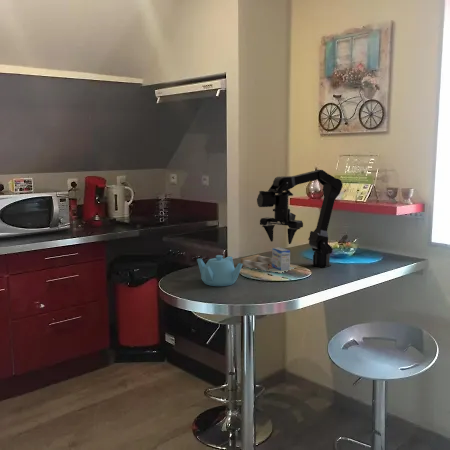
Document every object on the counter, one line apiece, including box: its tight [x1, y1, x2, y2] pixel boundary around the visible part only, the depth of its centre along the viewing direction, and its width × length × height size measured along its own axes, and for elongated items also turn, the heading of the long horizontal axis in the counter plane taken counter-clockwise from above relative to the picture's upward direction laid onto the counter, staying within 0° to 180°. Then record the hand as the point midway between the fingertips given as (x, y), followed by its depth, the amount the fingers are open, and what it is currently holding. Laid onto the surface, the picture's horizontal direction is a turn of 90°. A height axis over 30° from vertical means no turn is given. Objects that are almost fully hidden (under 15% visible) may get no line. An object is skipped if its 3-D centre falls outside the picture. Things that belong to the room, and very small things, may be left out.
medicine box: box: [271, 246, 291, 271], centre depth 222 cm, size 8×4×9 cm, turn 25°
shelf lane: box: [240, 254, 272, 272], centre depth 228 cm, size 14×12×4 cm
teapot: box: [196, 254, 243, 287], centre depth 200 cm, size 15×15×11 cm
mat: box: [266, 266, 296, 274], centre depth 222 cm, size 7×12×1 cm, turn 140°
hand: (280, 242), depth 221 cm, fingers open, 9 cm apart
